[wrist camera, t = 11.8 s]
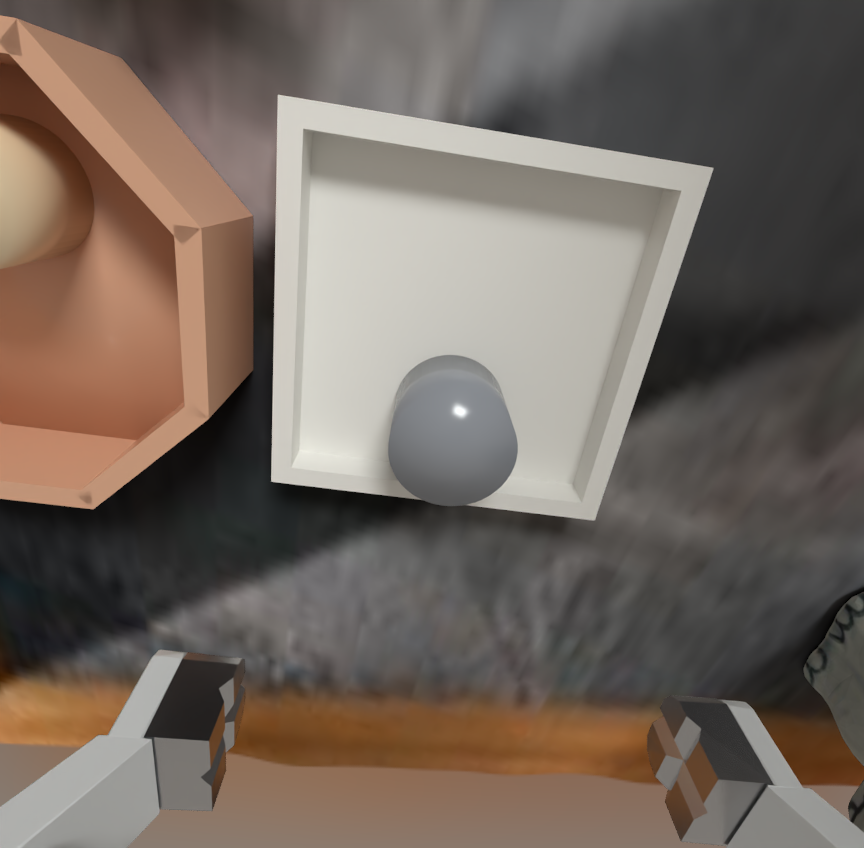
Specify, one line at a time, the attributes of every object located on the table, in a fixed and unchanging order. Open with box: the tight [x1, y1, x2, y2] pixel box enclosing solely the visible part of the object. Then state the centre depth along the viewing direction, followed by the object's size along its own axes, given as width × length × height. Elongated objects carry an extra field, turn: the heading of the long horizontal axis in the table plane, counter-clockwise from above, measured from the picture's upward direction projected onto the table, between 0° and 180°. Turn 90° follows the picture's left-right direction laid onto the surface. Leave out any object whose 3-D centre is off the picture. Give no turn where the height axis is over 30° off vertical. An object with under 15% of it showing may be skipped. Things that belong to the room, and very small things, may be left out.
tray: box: [271, 95, 714, 521], centre depth 21 cm, size 14×14×2 cm
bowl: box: [0, 16, 253, 509], centre depth 18 cm, size 15×15×5 cm
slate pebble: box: [388, 355, 518, 506], centre depth 20 cm, size 5×5×4 cm
